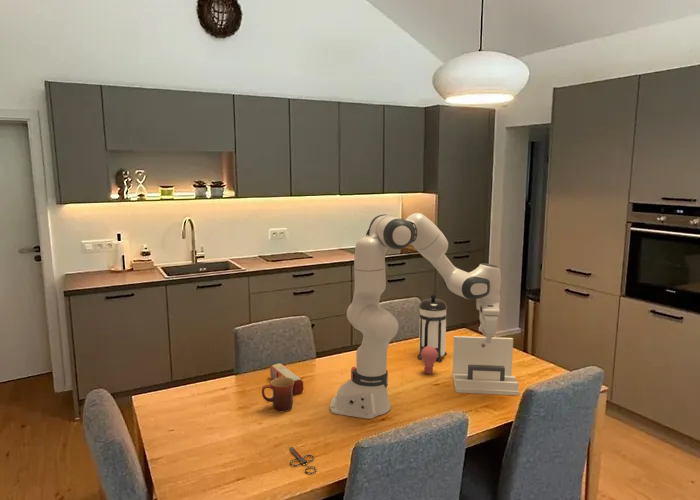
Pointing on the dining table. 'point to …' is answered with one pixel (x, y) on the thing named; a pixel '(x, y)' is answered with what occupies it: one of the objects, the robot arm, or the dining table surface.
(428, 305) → the coffee press
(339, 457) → the dining table surface
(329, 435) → the dining table surface
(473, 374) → the picture frame
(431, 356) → the light bulb
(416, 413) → the dining table surface
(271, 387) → the mug
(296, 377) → the snack package
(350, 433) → the dining table surface
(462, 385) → the picture ledge
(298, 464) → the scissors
